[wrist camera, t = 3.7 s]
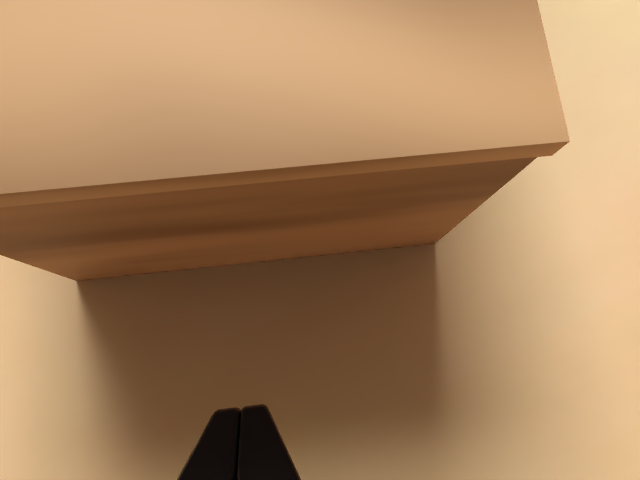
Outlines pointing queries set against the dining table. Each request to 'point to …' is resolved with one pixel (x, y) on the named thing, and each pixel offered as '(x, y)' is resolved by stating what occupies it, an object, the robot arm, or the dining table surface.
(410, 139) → the tea box
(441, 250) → the dining table surface
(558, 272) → the dining table surface
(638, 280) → the dining table surface
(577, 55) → the dining table surface
